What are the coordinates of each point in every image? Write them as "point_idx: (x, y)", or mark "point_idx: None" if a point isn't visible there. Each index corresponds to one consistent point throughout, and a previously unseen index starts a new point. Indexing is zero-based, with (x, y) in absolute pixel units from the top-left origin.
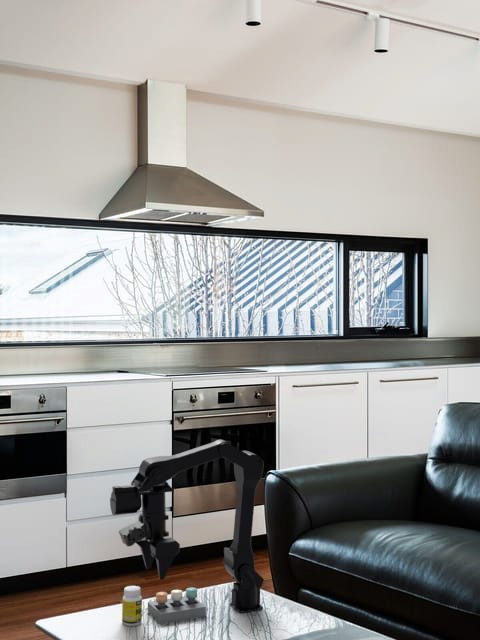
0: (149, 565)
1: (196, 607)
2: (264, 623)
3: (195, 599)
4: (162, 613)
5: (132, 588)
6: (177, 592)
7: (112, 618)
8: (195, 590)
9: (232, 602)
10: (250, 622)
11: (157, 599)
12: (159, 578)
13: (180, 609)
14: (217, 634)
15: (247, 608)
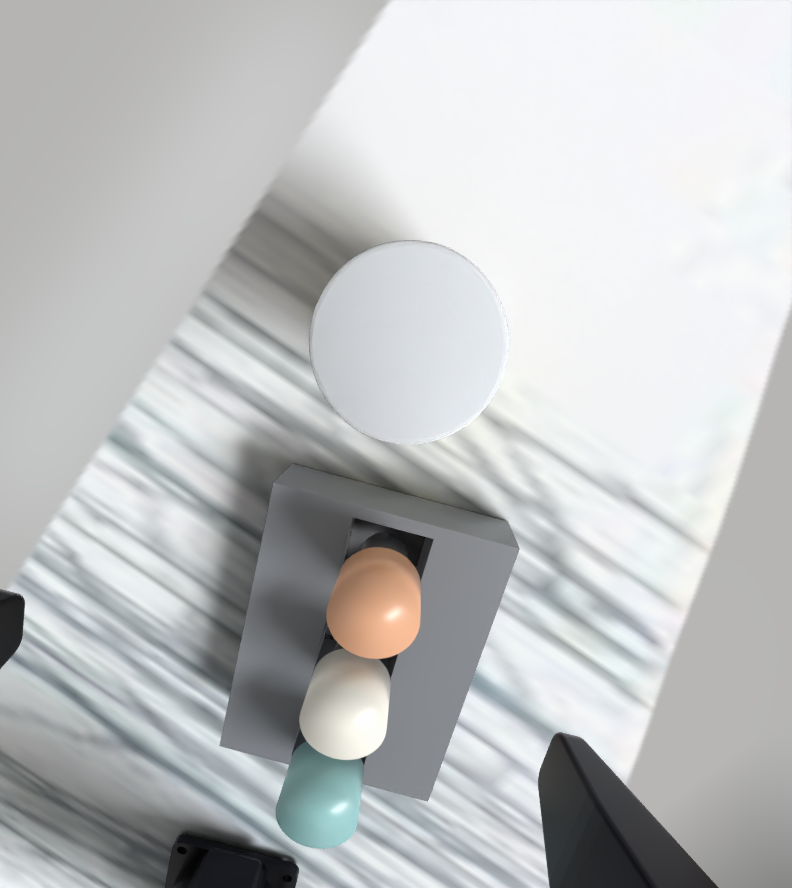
0: (557, 811)
1: (238, 703)
2: (20, 819)
3: None
4: (271, 497)
5: (399, 344)
6: (320, 716)
7: (567, 275)
8: (280, 820)
9: (240, 875)
10: (61, 789)
11: (371, 558)
12: (2, 595)
13: (265, 619)
14: None
15: (177, 877)
